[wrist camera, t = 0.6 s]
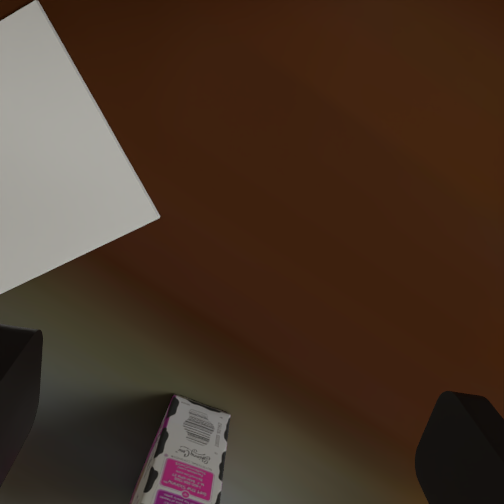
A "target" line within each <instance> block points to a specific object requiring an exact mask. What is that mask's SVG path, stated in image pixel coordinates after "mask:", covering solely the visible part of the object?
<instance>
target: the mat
mask: <svg viewBox="0 0 504 504" xmlns="http://www.w3.org/2000/svg"><path fill="white" fill-rule="evenodd" d="M159 218H160V215H159V213H158V211H157V210H156V208H155V206H154V204H153V203H152V201H151V199H150V197H149V196H148V194H147V192H146V190H145V188H144V187H143V185H142V183H141V181H140V180H139V178H138V176H137V174H136V173H135V171H134V169H133V167H132V165H131V164H130V162H129V160H128V158H127V157H126V155H125V153H124V151H123V150H122V148H121V146H120V144H119V142H118V141H117V139H116V137H115V135H114V134H113V132H112V130H111V128H110V127H109V125H108V123H107V121H106V119H105V118H104V116H103V114H102V112H101V111H100V109H99V107H98V105H97V104H96V102H95V100H94V98H93V96H92V95H91V93H90V91H89V89H88V88H87V86H86V84H85V82H84V81H83V79H82V77H81V75H80V73H79V72H78V70H77V68H76V66H75V65H74V63H73V61H72V59H71V58H70V56H69V54H68V52H67V50H66V49H65V47H64V45H63V43H62V42H61V40H60V38H59V36H58V35H57V33H56V31H55V29H54V27H53V26H52V24H51V22H50V20H49V19H48V17H47V15H46V13H45V12H44V10H43V8H42V6H41V4H40V3H39V1H37V0H35V1H33V2H31V3H30V4H28V5H26V6H25V7H23V8H21V9H20V10H18V11H16V12H15V13H13V14H11V15H10V16H8V17H6V18H5V19H3V20H1V21H0V294H2V293H4V292H6V291H8V290H10V289H12V288H14V287H16V286H18V285H20V284H22V283H25V282H27V281H29V280H31V279H33V278H35V277H37V276H39V275H41V274H43V273H46V272H48V271H50V270H52V269H54V268H56V267H58V266H60V265H62V264H64V263H66V262H69V261H71V260H73V259H75V258H77V257H79V256H81V255H83V254H85V253H87V252H89V251H92V250H94V249H96V248H98V247H100V246H102V245H104V244H106V243H108V242H110V241H113V240H115V239H117V238H119V237H121V236H123V235H125V234H127V233H129V232H131V231H133V230H136V229H138V228H140V227H142V226H144V225H146V224H148V223H150V222H152V221H154V220H156V219H159Z"/></svg>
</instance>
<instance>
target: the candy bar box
mask: <svg viewBox="0 0 504 504" xmlns="http://www.w3.org/2000/svg"><path fill="white" fill-rule="evenodd" d="M230 417H231V415H230V414H229V413H226V412H224V411H221V410H218V409H216V408H212V407H209V406H206V405H204V404H201V403H199V402H196V401H193V400H191V399H188V398H185V397H182V396H179V395H173V397H172V399H171V402H170V404H169V406H168V409H167V411H166V413H165V416H164V418H163V420H162V423H161V425H160V428H159V430H158V432H157V435H156V437H155V439H154V442H153V444H152V447H151V449H150V451H149V454H148V456H147V459H146V461H145V464H144V466H143V469H142V471H141V474H140V476H139V479H138V481H137V484H136V486H135V489H134V492H133V494H132V497H131V500H130V503H129V504H219V503H220V495H221V488H222V478H223V471H224V463H225V455H226V448H227V438H228V431H229V422H230Z"/></svg>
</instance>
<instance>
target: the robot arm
mask: <svg viewBox="0 0 504 504" xmlns="http://www.w3.org/2000/svg"><path fill="white" fill-rule="evenodd" d="M42 346H43V335H42V332H41V330H37V329H30V328H23V327H17V326H10V325H3V324H0V487H1V485H2V483H3V481H4V479H5V478H6V476H7V474H8V472H9V470H10V468H11V466H12V464H13V462H14V461H15V459H16V457H17V455H18V453H19V451H20V449H21V447H22V445H23V444H24V442H25V440H26V438H27V436H28V434H29V432H30V430H31V427H32V425H33V422H34V419H35V416H36V412H37V408H38V403H39V394H40V378H41V362H42ZM415 469H416V475H417V478H418V481H419V483H420V485H421V487H422V490H423V492H424V494H425V496H426V498H427V500H428V502H429V504H504V420H503V418H502V417H501V416H500V414H499V413H498V412H497V411H496V409H495V408H494V407H493V406H492V404H491V403H490V402H489V401H488V400H487V399H486V398H485V397H483V396H478V395H471V394H464V393H458V392H451V391H446V392H443V393H442V394H441V395H440V396H439V398H438V400H437V402H436V404H435V407H434V409H433V412H432V414H431V416H430V419H429V421H428V423H427V426H426V428H425V430H424V433H423V435H422V437H421V440H420V442H419V445H418V447H417V450H416V456H415Z"/></svg>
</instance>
